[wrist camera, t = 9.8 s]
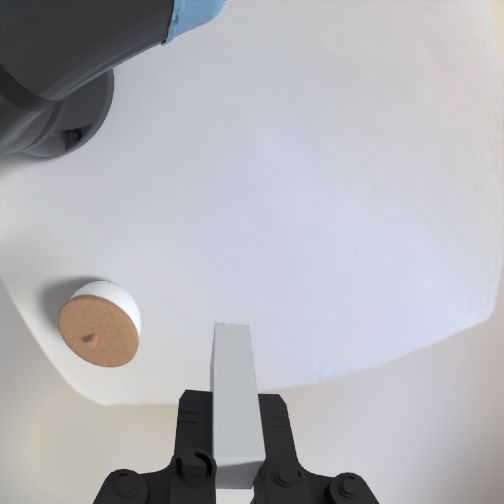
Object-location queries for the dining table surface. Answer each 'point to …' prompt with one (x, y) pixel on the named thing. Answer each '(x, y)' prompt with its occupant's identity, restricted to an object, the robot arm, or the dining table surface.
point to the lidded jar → (101, 324)
